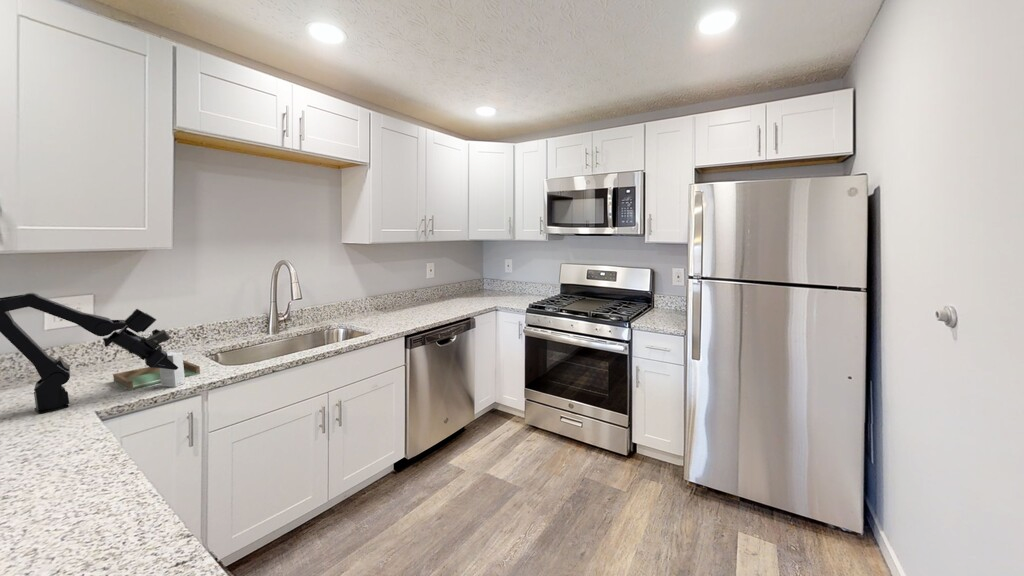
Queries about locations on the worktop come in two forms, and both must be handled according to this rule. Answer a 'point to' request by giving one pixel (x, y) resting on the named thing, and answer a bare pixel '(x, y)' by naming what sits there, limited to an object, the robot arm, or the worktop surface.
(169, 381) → the skincare box
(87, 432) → the worktop surface
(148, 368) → the box
